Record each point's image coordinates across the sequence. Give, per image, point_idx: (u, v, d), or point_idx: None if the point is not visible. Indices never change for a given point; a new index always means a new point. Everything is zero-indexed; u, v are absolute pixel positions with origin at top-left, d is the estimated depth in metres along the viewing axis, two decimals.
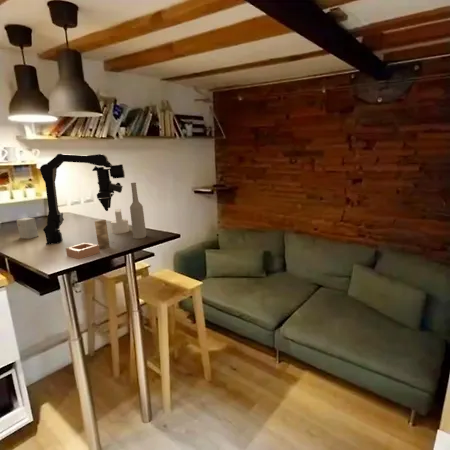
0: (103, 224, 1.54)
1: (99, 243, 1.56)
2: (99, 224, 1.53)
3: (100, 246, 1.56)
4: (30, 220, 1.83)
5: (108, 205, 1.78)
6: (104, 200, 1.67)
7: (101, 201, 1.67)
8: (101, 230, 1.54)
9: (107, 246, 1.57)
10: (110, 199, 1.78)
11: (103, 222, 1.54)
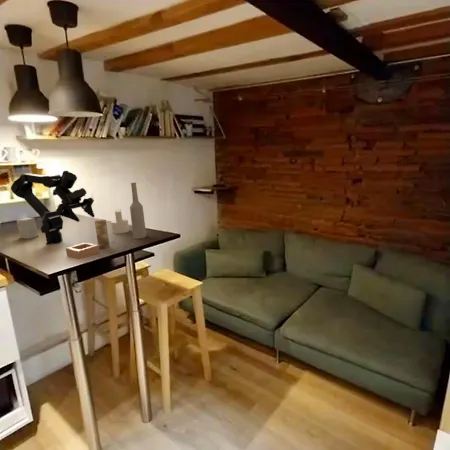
0: (103, 224, 1.54)
1: (99, 243, 1.56)
2: (99, 224, 1.53)
3: (100, 246, 1.56)
4: (30, 220, 1.83)
5: (91, 215, 1.63)
6: (69, 213, 1.55)
7: (67, 216, 1.55)
8: (101, 230, 1.54)
9: (107, 246, 1.57)
10: (89, 208, 1.63)
11: (103, 222, 1.54)
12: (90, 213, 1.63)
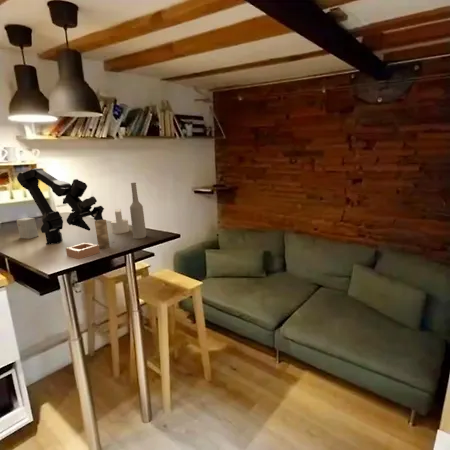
0: (103, 224, 1.54)
1: (99, 243, 1.56)
2: (99, 224, 1.53)
3: (100, 246, 1.56)
4: (30, 220, 1.83)
5: None
6: (79, 222, 1.53)
7: (77, 225, 1.53)
8: (101, 230, 1.54)
9: (107, 246, 1.57)
10: (100, 216, 1.61)
11: (103, 222, 1.54)
12: None
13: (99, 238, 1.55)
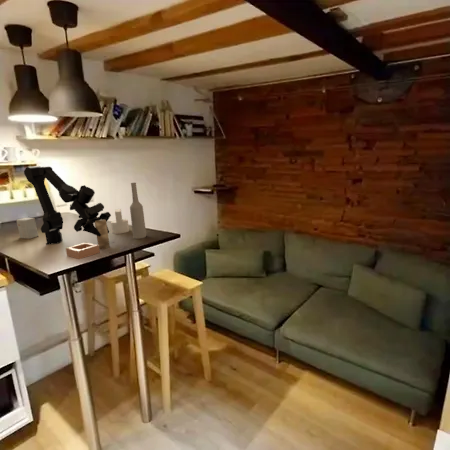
0: (103, 224, 1.54)
1: (99, 243, 1.56)
2: (99, 224, 1.53)
3: (100, 246, 1.56)
4: (30, 220, 1.83)
5: None
6: (90, 228, 1.54)
7: (88, 230, 1.54)
8: (101, 230, 1.54)
9: (107, 246, 1.57)
10: None
11: (103, 222, 1.54)
12: None
13: (99, 238, 1.55)
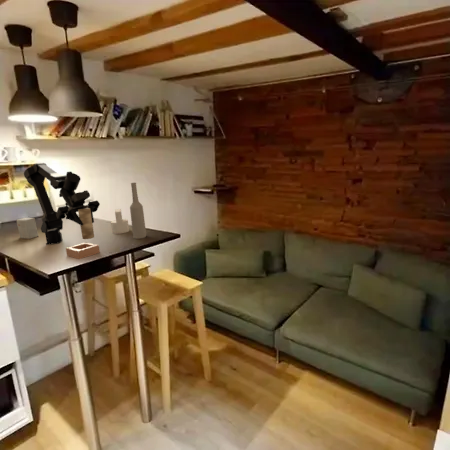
0: (86, 213, 1.46)
1: (82, 232, 1.48)
2: (81, 213, 1.46)
3: (83, 236, 1.49)
4: (30, 220, 1.83)
5: None
6: (73, 216, 1.47)
7: (71, 219, 1.48)
8: (83, 219, 1.46)
9: (90, 236, 1.49)
10: None
11: (86, 211, 1.46)
12: None
13: (82, 227, 1.48)
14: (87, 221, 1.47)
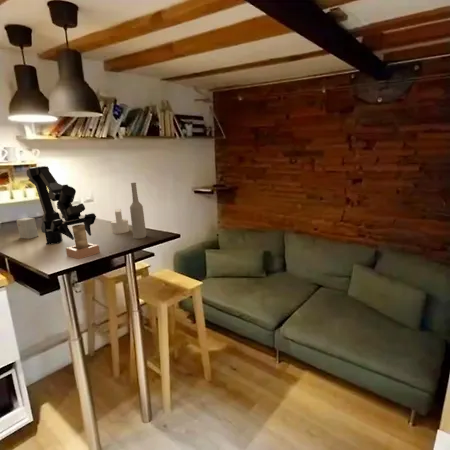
0: (79, 230, 1.45)
1: None
2: (75, 230, 1.45)
3: None
4: (30, 220, 1.83)
5: (88, 233, 1.50)
6: (65, 230, 1.46)
7: (63, 232, 1.46)
8: (77, 236, 1.46)
9: None
10: (87, 225, 1.51)
11: (79, 228, 1.45)
12: (87, 231, 1.51)
13: (76, 244, 1.47)
14: (81, 238, 1.46)
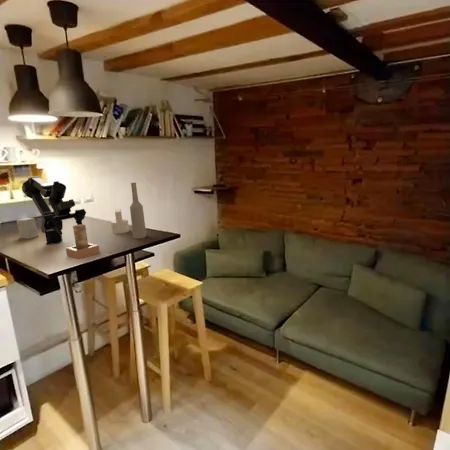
0: (80, 230, 1.46)
1: None
2: (76, 230, 1.45)
3: None
4: (30, 220, 1.83)
5: None
6: (54, 225, 1.52)
7: (52, 227, 1.52)
8: (77, 236, 1.46)
9: None
10: (78, 220, 1.58)
11: (80, 227, 1.45)
12: None
13: (76, 244, 1.47)
14: (81, 238, 1.46)
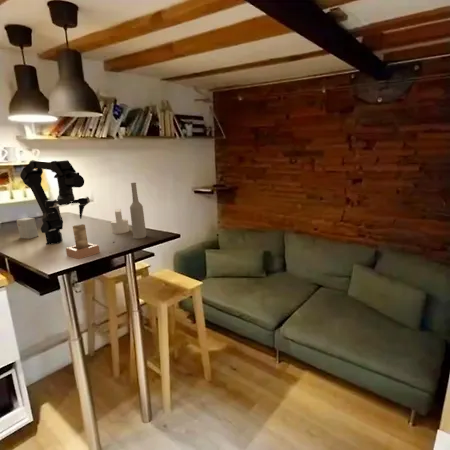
0: (80, 230, 1.46)
1: None
2: (75, 230, 1.45)
3: None
4: (30, 220, 1.83)
5: (80, 215, 1.63)
6: None
7: None
8: (77, 236, 1.46)
9: None
10: (79, 210, 1.61)
11: (80, 227, 1.45)
12: None
13: (76, 244, 1.47)
14: (81, 238, 1.46)
